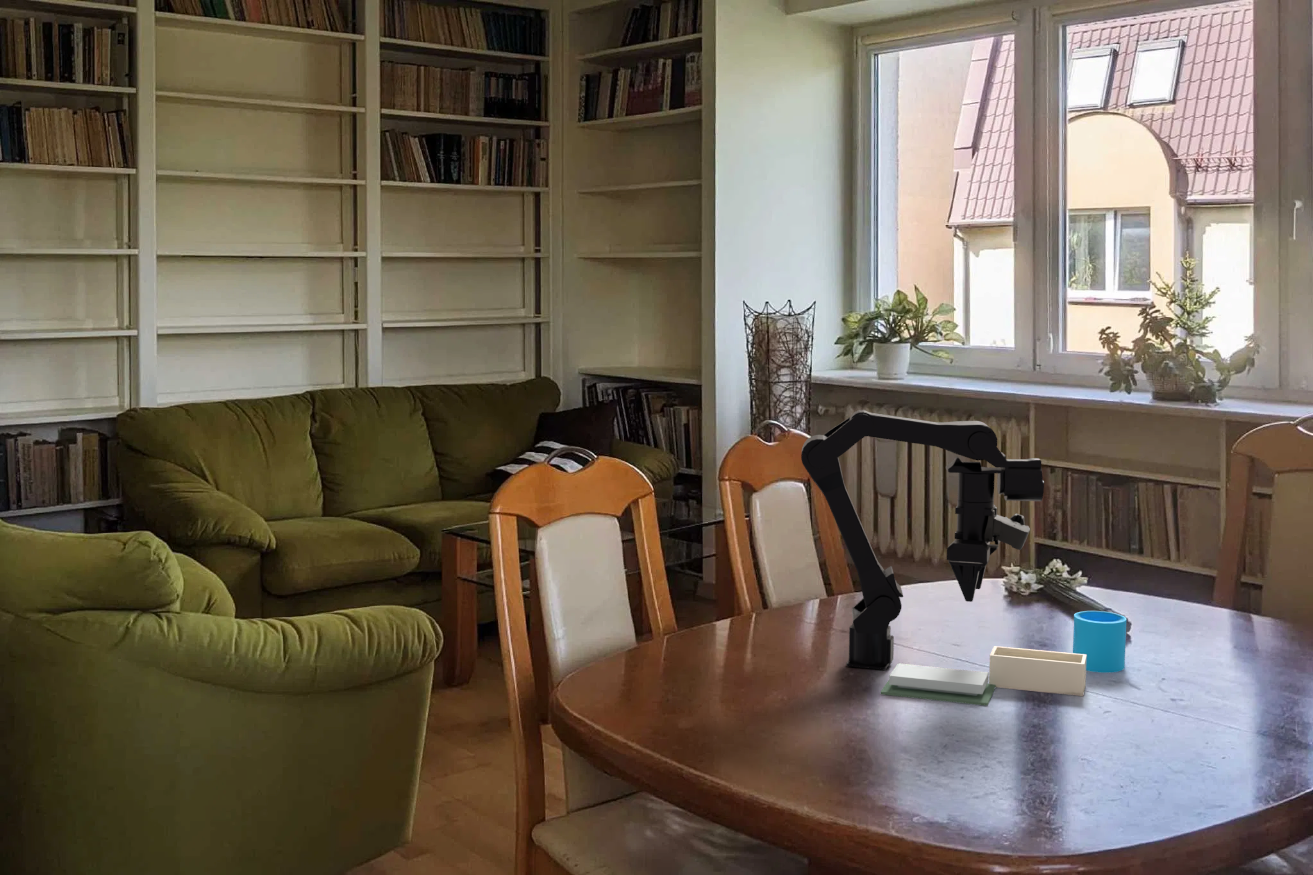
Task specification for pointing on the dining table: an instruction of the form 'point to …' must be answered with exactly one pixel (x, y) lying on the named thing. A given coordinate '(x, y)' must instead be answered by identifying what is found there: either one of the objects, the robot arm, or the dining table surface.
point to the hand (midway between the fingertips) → (973, 594)
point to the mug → (1100, 640)
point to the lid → (939, 679)
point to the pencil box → (1038, 670)
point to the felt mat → (940, 694)
